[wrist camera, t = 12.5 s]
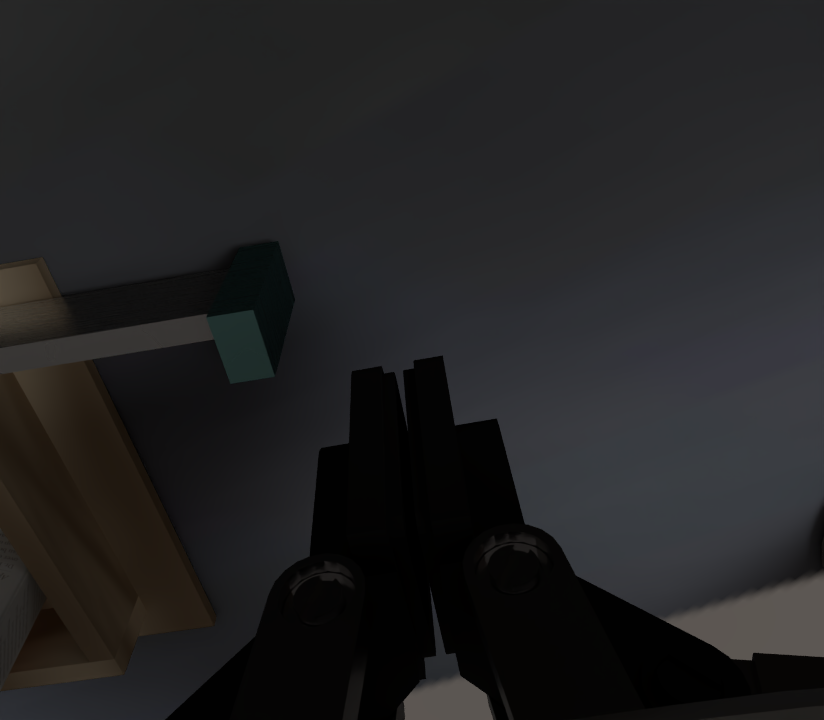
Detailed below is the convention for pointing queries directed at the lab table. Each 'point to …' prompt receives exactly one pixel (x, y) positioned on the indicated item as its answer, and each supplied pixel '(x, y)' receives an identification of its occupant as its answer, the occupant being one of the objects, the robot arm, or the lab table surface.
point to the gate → (162, 318)
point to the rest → (83, 518)
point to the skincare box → (15, 605)
